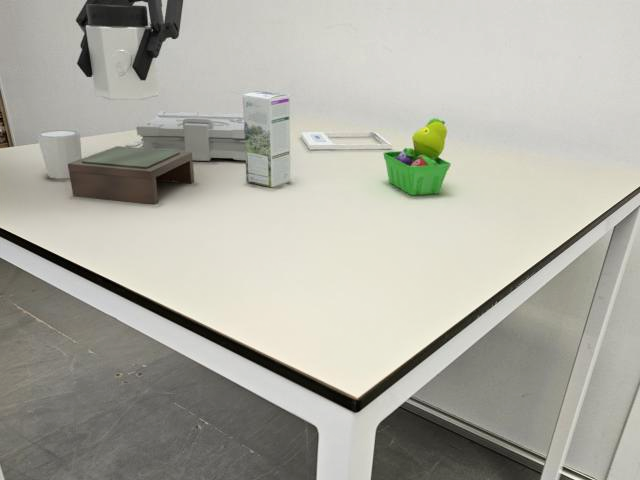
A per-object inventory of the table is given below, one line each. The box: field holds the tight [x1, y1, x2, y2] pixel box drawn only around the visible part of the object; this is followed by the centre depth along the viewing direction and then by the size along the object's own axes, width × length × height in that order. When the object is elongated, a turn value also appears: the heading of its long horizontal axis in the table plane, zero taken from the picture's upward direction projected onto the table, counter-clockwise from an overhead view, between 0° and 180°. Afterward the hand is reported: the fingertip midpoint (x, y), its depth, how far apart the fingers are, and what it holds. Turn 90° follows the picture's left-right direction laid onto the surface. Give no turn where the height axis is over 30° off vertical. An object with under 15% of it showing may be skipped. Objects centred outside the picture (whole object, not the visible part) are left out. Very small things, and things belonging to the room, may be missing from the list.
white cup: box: [36, 129, 83, 180], centre depth 104 cm, size 7×7×7 cm
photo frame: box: [300, 131, 393, 151], centre depth 136 cm, size 15×1×18 cm
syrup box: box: [242, 90, 292, 188], centre depth 101 cm, size 6×6×14 cm
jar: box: [86, 4, 159, 101], centre depth 87 cm, size 9×8×12 cm
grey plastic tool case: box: [124, 110, 246, 162], centre depth 123 cm, size 19×28×8 cm
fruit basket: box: [383, 117, 452, 196], centre depth 101 cm, size 11×9×11 cm
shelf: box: [68, 145, 195, 205], centre depth 97 cm, size 14×14×5 cm
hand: (111, 72), depth 85 cm, fingers closed on jar, 8 cm apart
